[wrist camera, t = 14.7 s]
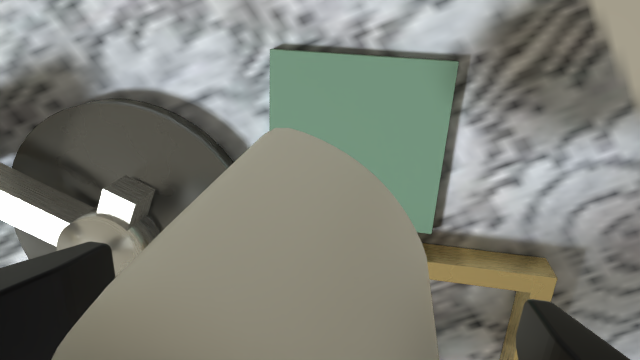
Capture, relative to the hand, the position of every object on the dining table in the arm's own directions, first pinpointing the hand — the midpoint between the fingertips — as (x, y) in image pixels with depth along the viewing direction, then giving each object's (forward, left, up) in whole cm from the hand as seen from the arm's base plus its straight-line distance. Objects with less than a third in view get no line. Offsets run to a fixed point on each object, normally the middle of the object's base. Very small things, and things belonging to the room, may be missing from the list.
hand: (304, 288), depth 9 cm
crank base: (-5, +10, -10) cm, 15 cm away
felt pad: (0, 0, -10) cm, 10 cm away
